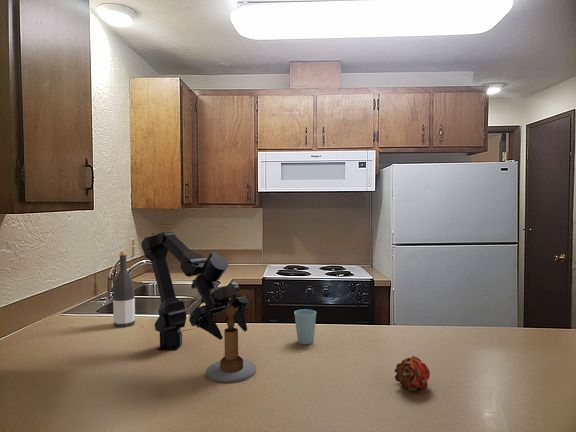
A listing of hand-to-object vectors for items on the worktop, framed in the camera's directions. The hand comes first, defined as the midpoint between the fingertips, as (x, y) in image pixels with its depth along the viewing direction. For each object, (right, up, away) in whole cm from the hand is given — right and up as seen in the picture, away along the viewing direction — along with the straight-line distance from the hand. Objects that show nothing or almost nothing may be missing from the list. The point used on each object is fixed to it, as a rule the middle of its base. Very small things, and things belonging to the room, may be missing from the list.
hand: (234, 334), depth 113 cm
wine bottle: (-51, -11, +49) cm, 72 cm away
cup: (+22, -10, +26) cm, 35 cm away
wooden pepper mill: (-1, -10, +1) cm, 10 cm away
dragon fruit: (+48, -11, -10) cm, 50 cm away
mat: (-1, -11, +1) cm, 11 cm away
